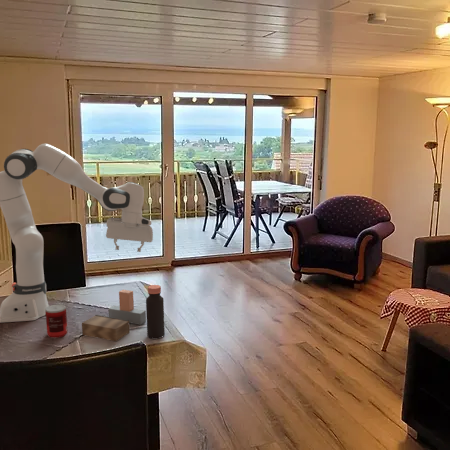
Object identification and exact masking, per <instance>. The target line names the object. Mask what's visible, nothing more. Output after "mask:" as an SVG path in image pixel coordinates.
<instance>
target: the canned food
mask: <svg viewBox="0 0 450 450" xmlns="http://www.w3.org/2000/svg"><path fill="white" fill-rule="evenodd" d="M45 312H46V315H45V322H46V324H45V325H46V334H47V336H48V337H49V338H52V339H57V338H63V337H65V336H66V335H67V334H68V320H67V319H68V318H67V307H66V305H64V304H52V305H49V306H48V307H47V308H46V309H45Z"/></svg>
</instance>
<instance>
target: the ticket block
mask: <svg viewBox="0 0 450 450" xmlns="http://www.w3.org/2000/svg"><path fill="white" fill-rule="evenodd" d="M81 330H82V331H81V333H82V336H85V337H92V338H96V339H101V340H108V341H112V342H118V341H120V340H121V339H123V338H124V337H125V336H126V335H127V336H128V335H129V334H130V333H131V331H130V330H131V329H130V323H129V320H124V319H118V318H112V317H109V316H105V315H99V314H95V315H94V316H92V317H90V318H88V319H86V320H85V321H83V322H81Z"/></svg>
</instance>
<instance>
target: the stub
mask: <svg viewBox="0 0 450 450" xmlns="http://www.w3.org/2000/svg"><path fill="white" fill-rule="evenodd" d="M118 298H119V299H118V300H119V305H112V306H110V307H109V308H107V310H108V312H107V313H108V317H112V318H118V319H124V320H129V324H135V325H143V324H145V322H146V323H147V315H146V309H145V310H144V309H140V308H139V309H138V308H135V307H134V305H135V304H134V290H128V289H121V290H120V291H119V292H118Z"/></svg>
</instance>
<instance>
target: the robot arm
mask: <svg viewBox="0 0 450 450" xmlns="http://www.w3.org/2000/svg"><path fill="white" fill-rule="evenodd" d="M3 169H4V170H2V171H0V209H1V212H2V215H3V217H4V220H5V223H6V224H5V225H6V227H7V229H8V233H9V236H10V238H11V242H12V243H13V245H14V247H15V272H16V282H12V283H11V288H12V293H11V294H9V295H8V296H7V297H6V298H5V299H4V300H2V302H1V304H0V323H11V322H26V321H29V322H30V321H36V320H38V319H40V318H41V317H45V316H46V312H45V309H46V308H47V307H48V306H50V304H49V302H48V298H47V297H48V296H47V283H46V280H45V274H44V273H45V272H44V254H45V253H44V247H45V246H44V244H45V243H44V237H43V235H42V233H40V231H39V230H38V229H37V226H36V222H35V219H34V216H33V211H32V207H31V205H30V202H29V200H28V197H27V193H26V191H25V187H24V186H23V179H26V178H28V177H30V176H31V175H32V174H33V173H34V172H35V171H37V170H42V171H44V172H46V173H47V174H49V175H51V176H52V177H54V178H55V179H57V180H60V181H61V182H64V183H66V184H68V185H71V186H74V187H76V188H78V189H80V190H82V191H83V192H85V193H87V194H88V195H90V197H92V198H94V199H95V200H96V201H97V202H98V203H99V205H100V207H101V208H103V209H104V210H105V211H107V212H114V211H116V210H121V218H119V217H110V218H108V219H107V220H106V227H107V228H106V232H105V233H106V234H105V237H106V238H107V239H110V240H112V239H113V243H114V245H115V250H116V251H119V250H120V245H118V244H117V242H118V240H122V241H123V240H124V241H131V242H132V241H133V242H140V246H139V247H137V251H136V252H138V253H141V251H142V248H143V246H144V245H145V243H152V242H153V240H154V239H153V238H154V237H153V236H154V232H153V231H154V230H153V228H152V226H151V225H152V220H150V219H147V218H145V217H143V206H144V203H145V201H144V200H145V190H144V187H143V185H141V184H139V183H136V182H132V181H128V182H126V183H124V184H121V185H118V186H113V187H109V188H108V187H105V186H103V185H101V184H100V183H99V182H97V181H95V180H94V179H93V178H91V177H90V176H88V174H86V172H85V171H84V169H83V167H82V165H81V164H80V163H79V162H78V161H77V160H76V159H75V158H74V157H72V156H71V155H70V154H68V153H66V152H65V151H63V150H62V149H60V148H57V147H55V146H54V145H51V144H49V143H41V144H39V145H37V147H36V148H35V149H34V150H31V149H29V148H20V149H17V150H13V152H12V153H10V154H9V155H8V156H6V158H5V160H4V162H3Z"/></svg>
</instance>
